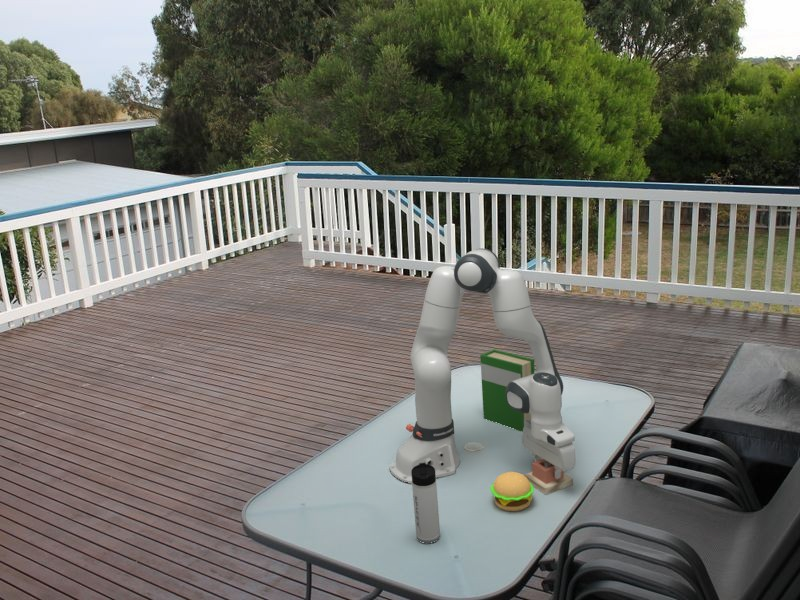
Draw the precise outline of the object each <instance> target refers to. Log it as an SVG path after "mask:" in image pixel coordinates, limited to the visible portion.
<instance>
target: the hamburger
mask: <svg viewBox="0 0 800 600" xmlns="http://www.w3.org/2000/svg"><path fill="white" fill-rule="evenodd" d="M489 490H490V493H491V494H492V495H494V498H493V500H494V501H493V502H494V503H495V505H496V506H497V507H498V508H499V509H501V510H504V511H507V512H520V511H522V510H525V509H526V508H527V507H529V506H530V504H531V501H533V500H532V499H533V494H534V491H535V488H534V487H533V486H532V484H531V482H529V480H528V479H527V478H526V477H525V476H524V474H522V473H520V472H516V471H507V472H503V473H501V474H499V475H498V476H497V477H496V478H495V480H494V482H492V485H491V486H490V488H489Z"/></svg>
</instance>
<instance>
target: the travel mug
mask: <svg viewBox="0 0 800 600" xmlns="http://www.w3.org/2000/svg"><path fill="white" fill-rule="evenodd" d="M411 474H412V483H411V486H412V487H411V489H412V499H413V509H414V510H413V513H414V521H415V522H414V523H415V536H416V540H417V539H418V540H419V541H421V542H424V543H431V542H434V541H436V540H438V539H439V537H440V538H441V532H440V531H441V529H440V528H441V527H440V514H439V504H438V503H439V501H438V499H439V498H438V488H437V478H436V475H435V468H434V467H433V466H431V465H428V464H426V463H419V465H417V466H415V467H414V468H413V469H412V471H411ZM418 540H417V541H418ZM439 540H440V539H439ZM439 540H438V541H439ZM419 541H418V542H419ZM421 542H420V543H421ZM436 542H437V541H436ZM424 543H423V544H424ZM434 543H435V542H434ZM431 544H432V543H431Z"/></svg>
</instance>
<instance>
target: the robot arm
mask: <svg viewBox="0 0 800 600" xmlns="http://www.w3.org/2000/svg"><path fill="white" fill-rule="evenodd" d="M466 291H469V292H476V293H481V294H488V296H489V297H490V301H491V308H492V315H493V321H494V324H495V326H496V329H497V330H498V331H499V332H500V333H501V334H503V335H504V336H506V337H509V338H512V339H516V340H517V339H518V340H523V341H524V342H526V343H527V344H528V346H529V348H530V350H531V354H532V357H533V359H534V365H535V367H536V370H535V374H532V375H529V376H526V377H522V378H519V379H517V380H514V381H512V382H510V383H509V384H508V385H507V388H506V400H507V403H508V405H509V406H510V407H511V408H512V409H513V410H515V411H517V412H521V413H529V414H530V415H531V420H530V419H527V420H525V421H524V428H523V432H522V436H521V437H522V438H521V444H522V446H523V448H524V449H525V450H527V451H529V452H531V453H532V457H533V459H534V462H536V461H539V460H541V458H542V459H544V460H546V461H548V462H549V463H551V464H553V465H554V466H555V469H556V470H555V471H554V472H553V477H554V478H556V479H558V478H560V477H561V471H562V470H563V471H564V472H568V471H571V470H573V469H574V468H575V467H576V447H575V445H574V442H575V440H576V437H575V434H574V433H573V432H572V431H571V430H570V429H569V428H568V427H567V426H566V425H565V423H563V416H562V413H561V410H562V407H563V405H562V404H563V402H562V401H563V399H562V395H563V392H564V382H563V380H562V378H561V375H560V373H559V371H558V368H557V367H556V363H555V360H554V356H553V353H552V352H553V351H552V350H551V349H552V348H551V346H550V342H549V339H548V335H547V332H546V330H545V328H544V326H543V324H542V322H541V321H539V319H536V317H535V315H534V313H533V311H532V310H533V309H532V307H531V306H532V305H531V300H530V295H529V292H528V287H527V284H526V281H525V279H524V276H523V274H521V272H520V271H517V270H515V269H514V270H513V269H501V265H500V260H499V257H498V256H497V255H496V254H495V252H494V251H492V250H491V249H487V248H476V249H473V250H471V251H468V252H467V253H465V255H463V256H461V257H460V258H459V259H458V260H457V262H456V263H455V265H454V266H450V265H442V266H439V267H437V268H435V269H434V270H433V271H432V274H431V276H430V279H429V282H428V284H427V287H426V291H425V295H424V299H423V305H422V309H421V315H420V320H419V323H418V329H417V330H416V333H415V335H414V336H415V337H414V340H413V343H412V348H411V350H410V351H411V352H410V355H409V358H410V363H411V366H412V370H413V374H414V375H413V376H414V391H415V393H414V395H415V396H414V404H415V415H416V422H415V423H414V425H412V424H411V423H407V424H406V426H405V430H407V431H408V432H410V433H411V432H412V434H411V435H410V437H408V439H407V440H406V441H405V442H403V444H402V445H401V446H399V447H398V449H397V451H396V456H395V461H393V462H391V463H389V465H388V466H389V468H390V469H389V472H390V471H391V472H390V473H391V474H393V475H394V476H395V478H396V477H397V478H398V479H397V478H396V479H397V480H399V479H400V480H402V481H401V482H403V481H404V482H403V483H405V482H408V483H407V484H412V474H411V471H412V469H413V468H414V467H415V466H417V465H419V463H426V464H428V465H431V466H433V467H434V468H435V475H436V479H438V478H442V477H446V476H451V475H454V474H456V472H457V471H456V469H457V467H458V466H459V465H460V464H461V459H460V456H459V454H458V451H457V447H456V443H455V442H456V441H455V436H454V435H455V423H454V419H453V416H452V414H453V413H452V399H451V397H452V395H451V394H452V393H451V392H452V365H451V362H450V360H449V358H448V350H449V346H450V343H451V340H452V339H453V336H454V334H455V333H456V330H457V327H458V326H457V325H458V321H459V320H458V319H459V316H460V310H461V306H462V300H463V297H464V293H465V292H466ZM393 475H392V476H393ZM394 476H393V477H394ZM437 477H438V478H437ZM400 480H399V481H400Z"/></svg>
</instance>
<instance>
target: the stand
mask: <svg viewBox="0 0 800 600" xmlns="http://www.w3.org/2000/svg"><path fill="white" fill-rule="evenodd" d="M544 463H545V468H549V467H551V463H549V462H548V461H545V462H544ZM523 475H524V476H525V477H526V478H527V479H528V480H529V482H531V484H532V486H533V487H534V489H536V490H538V492H541V493H542V494H544V495H546V496H547V495H549V494H552V493H554V492H556V491H559V490H562V489H565V488H567V487H570V486H573V484H574V480H573V479H574V478H573V477H572V476H569V475H568V474H567V473H564V478H561V479H559V480H556V481H553V482H550V483H548V484H545V483H544V482H542V481H541V480H539V479H537V478H536V477H534V476H533V475H532V471H530V472H527V473H525V474H523Z"/></svg>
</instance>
